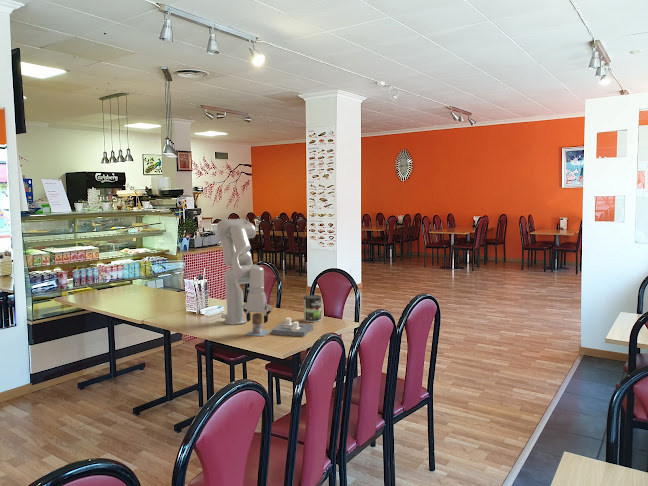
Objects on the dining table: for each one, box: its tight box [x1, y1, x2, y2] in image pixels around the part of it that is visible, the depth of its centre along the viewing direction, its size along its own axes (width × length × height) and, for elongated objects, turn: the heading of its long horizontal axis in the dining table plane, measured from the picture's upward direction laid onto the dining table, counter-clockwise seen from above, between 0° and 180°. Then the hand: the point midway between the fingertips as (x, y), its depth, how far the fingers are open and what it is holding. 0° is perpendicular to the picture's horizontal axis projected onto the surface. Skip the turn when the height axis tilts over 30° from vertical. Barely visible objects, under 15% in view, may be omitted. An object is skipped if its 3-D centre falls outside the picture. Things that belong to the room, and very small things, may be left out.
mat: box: [244, 329, 271, 337], centre depth 272 cm, size 10×10×1 cm
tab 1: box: [284, 317, 293, 326], centre depth 278 cm, size 4×4×4 cm
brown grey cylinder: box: [251, 312, 264, 334], centre depth 271 cm, size 4×4×10 cm
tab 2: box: [291, 321, 301, 330], centre depth 270 cm, size 4×4×4 cm
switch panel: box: [271, 322, 314, 337], centre depth 275 cm, size 18×16×3 cm
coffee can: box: [303, 294, 322, 323], centre depth 299 cm, size 10×10×14 cm
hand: (257, 321), depth 271 cm, fingers open, 9 cm apart
